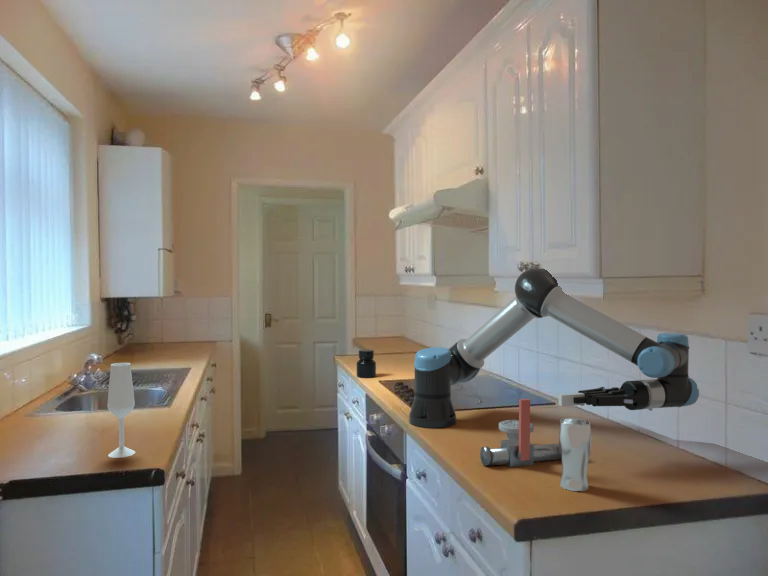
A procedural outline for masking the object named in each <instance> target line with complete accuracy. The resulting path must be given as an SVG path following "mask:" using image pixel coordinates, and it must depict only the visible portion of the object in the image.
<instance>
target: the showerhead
mask: <svg viewBox="0 0 768 576" xmlns="http://www.w3.org/2000/svg"><path fill="white" fill-rule="evenodd" d="M534 426H535V425H534V423H531V422H530V434H532V432H534ZM498 429H499V431H501V432H503V433H506V440H513V439H519V419H505V420H502V421H499V422H498Z"/></svg>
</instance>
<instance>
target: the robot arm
mask: <svg viewBox="0 0 768 576" xmlns="http://www.w3.org/2000/svg"><path fill="white" fill-rule="evenodd" d="M514 293H515V297H514V298H512V299H511V300H510V301H509V302H508V303H507V304H506V305H504V306H503V308H502V309H500V310H499V311H498V312H496V314H494V315H493V316H492V317H491V318H490V319H488V321H486V322H485V323H484V324H483V325H481V327H479V328H478V329H477V330H476V331H475V332H474V333H473V334H471V335H470V336H469V337H468V338H460V339H458V341H457V342H455V343H454V344H453V345H452V346H451V347H450V348H447V347H441V346H438V347H437V346H435V347H428V348H422V349H420V350H418V351H417V352H416V353H415V356H414V363H413V366H414V398H413V402H412V405H411V408H410V411H409V414H408V422H409V423H410V424H411V425H413V426H417V427H421V428H428V429H429V428H430V429H431V428H435V429H439V428H440V429H441V428H446V427H447V428H448V427H451V426H454V425H455V424H456V423H457V414H456V412H455V411H456V410H455V408H454V404H453V401H452V395H451V394H452V393H451V392H452V386H454V385H459V384H461V383H466V382H470V381H471V380H473V379H474V378H476V376H477V375H478V374H479V372H480V371H481V370H480V369H482V367H484V366H485V365H484V364H485V360H486V358H488V356H490V355H491V354H492V353H493V352H495V351H496V350H497V349H498V348H500V347H501V346H502V345H503V344H504V343H506V342H507V341H508V340H509V339H511V338H512V337H513V336H514V335H516V334H517V332H519V331H521V329H522V328H524V327H525V326H526V325H528V324H529V323H530V321H532V320H533V319H534V318H536V319H542V318H546V317H550V318H552V319H554V320H556V321H558V322H559V323H560V324H563V325H565V326H567V327H568V328H570V329H572V330H574V331H575V332H576V333H579V334H580V335H582V336H584V337H586V338H588V339H589V340H591V341H592V342H595V343H596V344H597V345H600V346H601V347H604V348H605V349H607V350H609V351H610V352H612V353H614V354H616V355H618V356H619V357H621V358H623V359H625V360H627V361H628V362H630V363H632V364H633V365H635V366H637V367H638V369H639V370H640V372H641V373H642V374H643V375H644V376H646V377H648V378H649V379H639V380H626V381H624V382H623V383H622V384H621V386H620V387H617V386H616V387H611V388H606V387H604V386H600V387H598V388H591V389H582V390H578V391H577V392H575V393H574V392H573V393H560V394H558V406H560V407H570V406H585V405H587V406H592V407H625V408H626V409H627V410H629V411H640V410H649V411H650V412H651V411H653V409H661V408H682V407H689V406H692V405H694V404H696V402H697V401H698V399H699V396H700V389H699V388H698V383H697V382H696V381H695V380H694V379H693V378H691V377H690V376H689V355H690V354H689V352H690V345H689V336H688V335H686V334H685V333H680V332H679V333H678V332H661V333H659V334H657V338H656V339H657V340H656V341H655V340H654V339H651V338H649V337H647V336H646V335H645V334H642V333H640V332H639V331H637V330H635V329H634V328H633V329H632V328H631V327H629V326H627V325H625V324H624V323H622V322H620V321H618V320H617V319H614V318H612V317H610V316H609V315H606V314H605V313H602V311H599V310H598V309H595V308H594V307H592V306H590V305H587V304H586V303H584V302H582V301H580V300H578V299H577V298H574V297H573V296H572V295H571V296H569V295H567V294H565V293H564V292H563V291H562V288H561V287H560V286H558V283H557V280H556V279H555V278H554V277H552V275H551V274H550V273H549V272H548V271H547V270H545V269H544V268H529V269H527V270H525V271H523V272H522V273H521V274H520V275H519V276H518V277H517V279H516V282H515V285H514ZM650 378H651V379H650Z"/></svg>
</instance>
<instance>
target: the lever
mask: <svg viewBox="0 0 768 576" xmlns="http://www.w3.org/2000/svg"><path fill="white" fill-rule="evenodd" d="M518 420H519V451H518V452H517V457H518V459H519V460H521V461H522V462H527V461H529V460H530V457H531V454H530V443H531V433H530V423H531V399H529V398H520V399H518Z"/></svg>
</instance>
